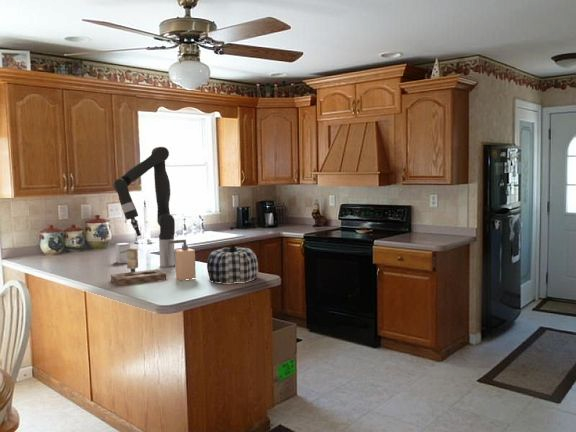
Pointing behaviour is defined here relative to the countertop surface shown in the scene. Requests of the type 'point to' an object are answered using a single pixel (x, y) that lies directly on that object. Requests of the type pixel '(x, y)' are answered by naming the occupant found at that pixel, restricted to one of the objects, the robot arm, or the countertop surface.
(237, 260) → the decorative pumpkin
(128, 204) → the robot arm
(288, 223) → the countertop surface
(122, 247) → the supplement box
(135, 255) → the birch peg
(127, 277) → the walnut keyhole board
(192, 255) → the soap dispenser
